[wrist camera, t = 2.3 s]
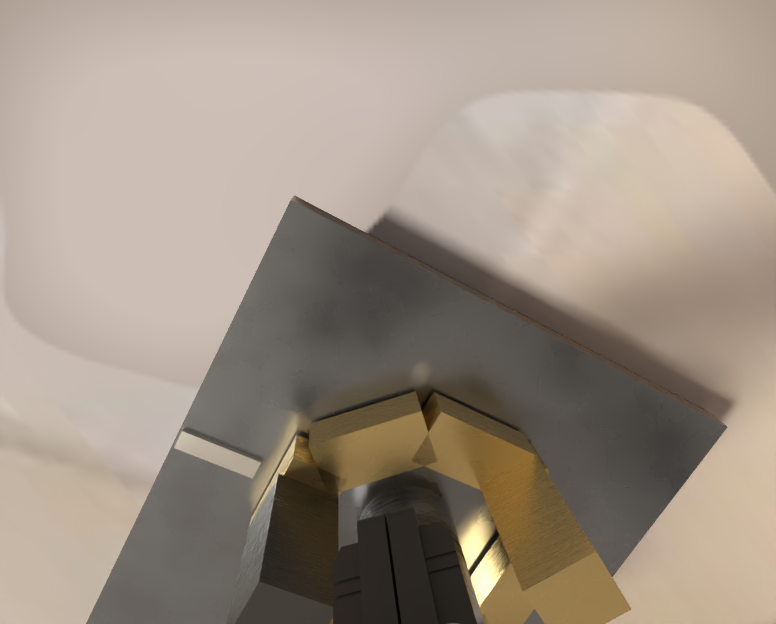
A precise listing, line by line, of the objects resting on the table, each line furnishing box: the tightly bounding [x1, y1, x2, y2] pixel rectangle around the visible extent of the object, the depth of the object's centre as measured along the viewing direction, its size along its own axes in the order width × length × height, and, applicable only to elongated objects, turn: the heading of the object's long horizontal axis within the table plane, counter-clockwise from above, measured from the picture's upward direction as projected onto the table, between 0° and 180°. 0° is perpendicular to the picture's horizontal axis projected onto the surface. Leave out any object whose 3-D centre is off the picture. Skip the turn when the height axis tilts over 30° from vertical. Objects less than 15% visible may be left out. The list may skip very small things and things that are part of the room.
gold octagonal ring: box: [226, 391, 631, 624], centre depth 19 cm, size 12×12×7 cm
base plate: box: [86, 196, 727, 624], centre depth 21 cm, size 20×20×7 cm
